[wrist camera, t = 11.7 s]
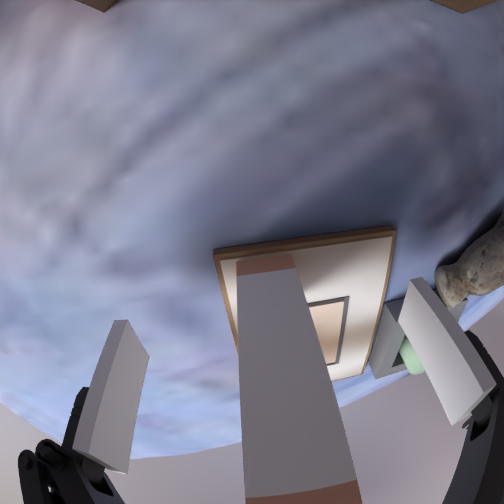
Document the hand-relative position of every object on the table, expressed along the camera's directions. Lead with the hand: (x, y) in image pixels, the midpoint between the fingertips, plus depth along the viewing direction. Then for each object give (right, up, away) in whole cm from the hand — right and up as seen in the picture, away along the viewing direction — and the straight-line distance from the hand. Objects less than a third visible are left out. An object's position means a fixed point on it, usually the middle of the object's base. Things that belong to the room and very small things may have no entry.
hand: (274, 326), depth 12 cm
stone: (+17, +4, +4) cm, 17 cm away
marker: (0, +2, +3) cm, 3 cm away
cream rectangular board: (+3, -2, +6) cm, 7 cm away
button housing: (+12, -3, +7) cm, 14 cm away
